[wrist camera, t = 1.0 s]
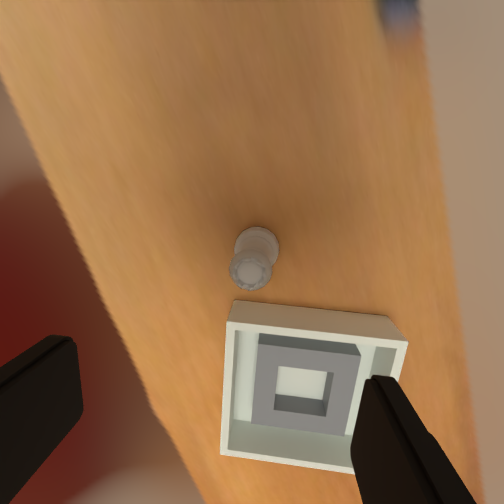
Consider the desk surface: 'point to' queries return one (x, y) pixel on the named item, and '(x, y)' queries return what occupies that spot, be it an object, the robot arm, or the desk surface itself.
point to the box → (301, 381)
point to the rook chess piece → (254, 258)
